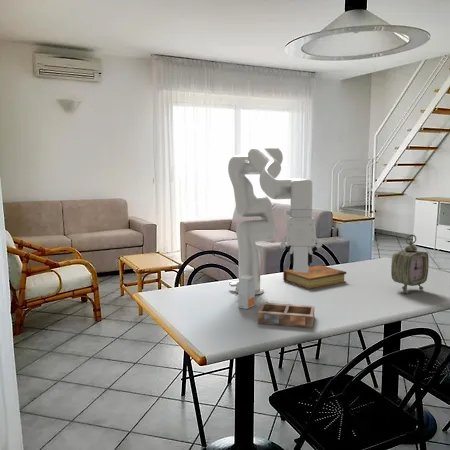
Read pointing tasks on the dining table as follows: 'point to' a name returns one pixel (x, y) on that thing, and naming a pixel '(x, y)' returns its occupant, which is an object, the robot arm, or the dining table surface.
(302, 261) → the plug
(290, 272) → the diary
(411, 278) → the tabletop clock
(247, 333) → the dining table surface
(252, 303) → the skincare box
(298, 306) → the socket block
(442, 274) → the dining table surface
